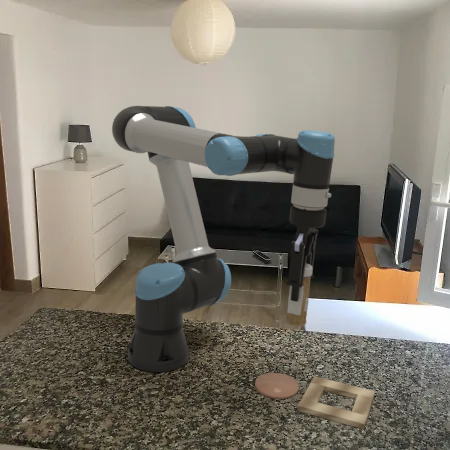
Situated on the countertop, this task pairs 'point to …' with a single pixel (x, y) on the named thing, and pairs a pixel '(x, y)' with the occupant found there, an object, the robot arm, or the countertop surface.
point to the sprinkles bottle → (301, 319)
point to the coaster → (276, 385)
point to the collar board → (332, 413)
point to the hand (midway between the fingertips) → (297, 309)
